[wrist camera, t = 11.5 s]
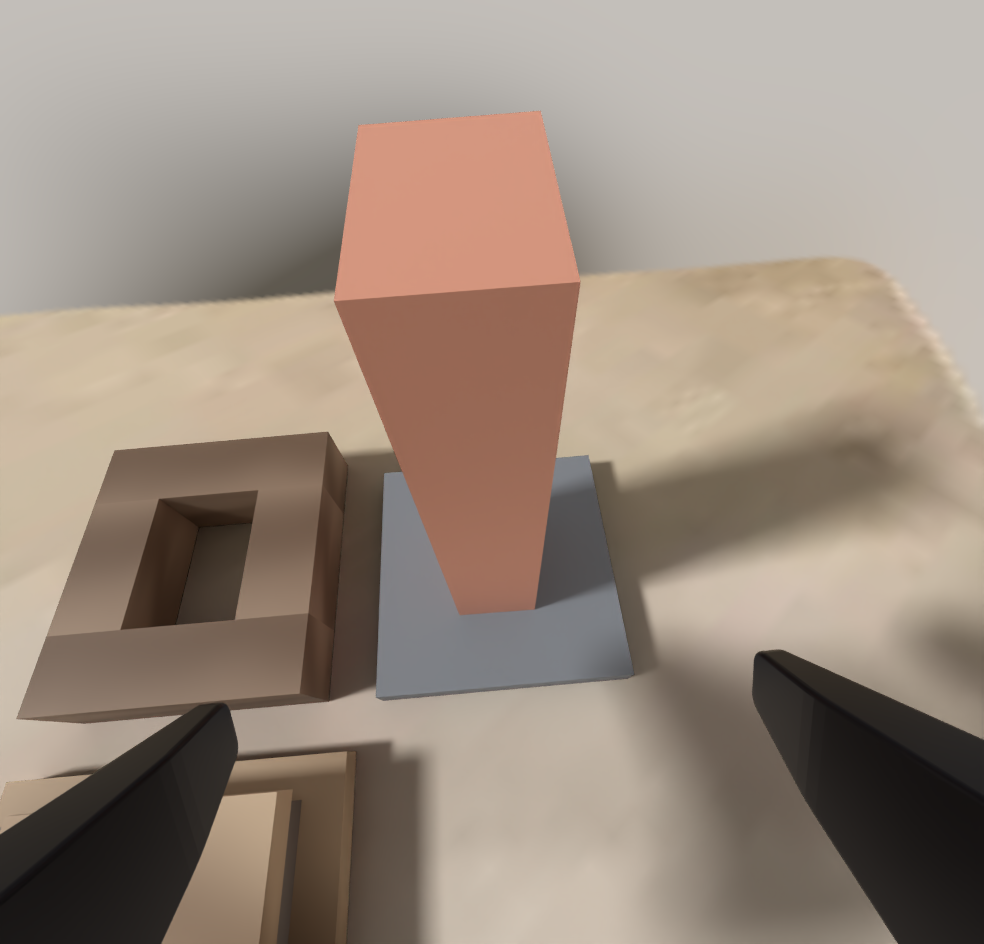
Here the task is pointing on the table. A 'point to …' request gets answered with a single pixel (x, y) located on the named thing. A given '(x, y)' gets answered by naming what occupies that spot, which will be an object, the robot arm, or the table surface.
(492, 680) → the grey mat
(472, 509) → the pink bar
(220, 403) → the table surface
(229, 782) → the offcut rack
